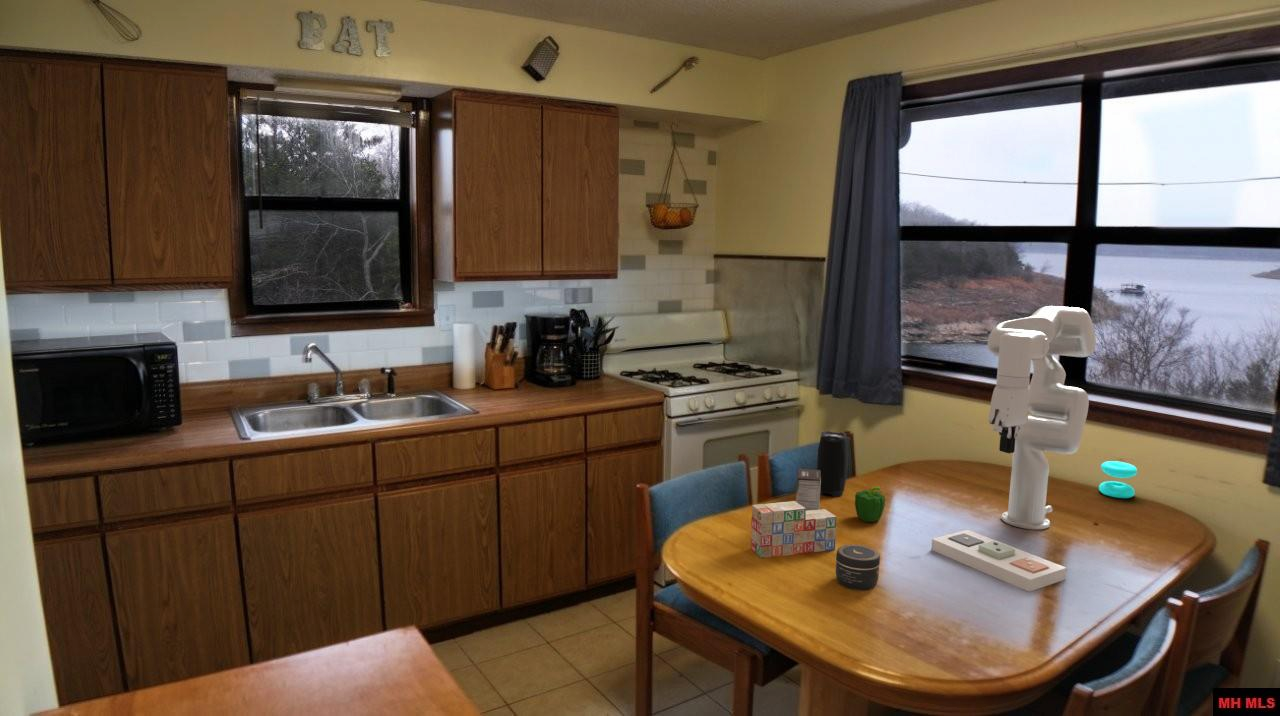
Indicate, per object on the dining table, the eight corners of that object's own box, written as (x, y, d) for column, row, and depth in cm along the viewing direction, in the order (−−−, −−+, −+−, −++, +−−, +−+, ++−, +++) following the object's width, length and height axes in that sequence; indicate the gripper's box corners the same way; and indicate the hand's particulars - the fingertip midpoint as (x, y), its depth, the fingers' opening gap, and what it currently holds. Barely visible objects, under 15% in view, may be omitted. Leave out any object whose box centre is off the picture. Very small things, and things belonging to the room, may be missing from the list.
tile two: (993, 550, 203) (994, 539, 203) (1014, 559, 198) (1015, 548, 198) (977, 555, 200) (978, 544, 200) (998, 563, 195) (999, 552, 195)
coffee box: (795, 522, 227) (797, 468, 224) (817, 524, 226) (820, 469, 223) (794, 533, 218) (797, 477, 216) (818, 535, 217) (821, 479, 214)
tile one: (963, 542, 211) (964, 532, 211) (982, 550, 206) (983, 540, 206) (948, 547, 208) (948, 536, 208) (967, 555, 203) (968, 544, 203)
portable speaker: (812, 489, 256) (814, 430, 253) (839, 488, 258) (842, 430, 255) (821, 498, 248) (824, 437, 245) (850, 497, 249) (853, 436, 246)
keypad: (966, 540, 215) (967, 529, 215) (1065, 579, 191) (1066, 567, 191) (931, 549, 208) (932, 538, 208) (1029, 591, 184) (1030, 579, 184)
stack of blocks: (823, 541, 213) (826, 497, 211) (835, 550, 207) (838, 505, 205) (750, 549, 207) (751, 504, 205) (760, 558, 201) (761, 512, 199)
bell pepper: (851, 522, 227) (853, 488, 226) (855, 513, 235) (857, 480, 233) (882, 526, 224) (884, 492, 223) (885, 517, 232) (887, 484, 230)
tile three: (1024, 567, 196) (1025, 556, 195) (1047, 576, 191) (1048, 565, 190) (1009, 572, 193) (1010, 561, 193) (1032, 582, 188) (1033, 570, 187)
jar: (871, 595, 181) (873, 564, 180) (828, 585, 186) (830, 554, 185) (883, 579, 190) (885, 549, 188) (842, 570, 195) (844, 540, 194)
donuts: (1144, 466, 252) (1124, 470, 248) (1141, 497, 253) (1121, 501, 249) (1114, 458, 261) (1094, 462, 257) (1111, 488, 262) (1091, 491, 258)
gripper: (1018, 377, 208) (1012, 444, 211) (980, 381, 200) (974, 452, 203) (1044, 381, 201) (1038, 451, 204) (1007, 387, 194) (1000, 459, 197)
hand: (1006, 451), depth 204 cm, fingers closed
